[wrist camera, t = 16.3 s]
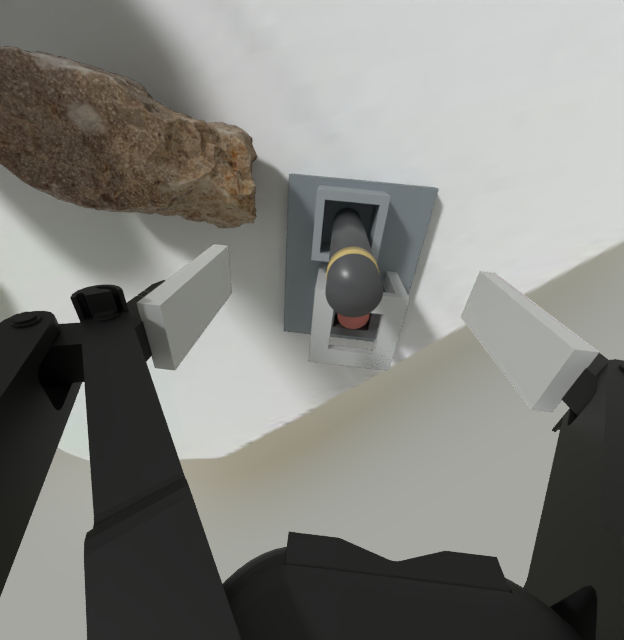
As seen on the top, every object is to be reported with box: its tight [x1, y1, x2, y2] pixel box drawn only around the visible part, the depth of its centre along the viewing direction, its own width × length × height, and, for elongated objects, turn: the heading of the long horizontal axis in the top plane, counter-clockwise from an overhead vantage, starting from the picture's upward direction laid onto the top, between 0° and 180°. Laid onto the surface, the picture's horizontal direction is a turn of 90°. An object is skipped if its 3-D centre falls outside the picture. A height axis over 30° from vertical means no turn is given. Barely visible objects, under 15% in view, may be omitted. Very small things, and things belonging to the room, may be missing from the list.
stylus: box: [325, 208, 383, 317], centre depth 22 cm, size 3×3×18 cm
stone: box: [0, 46, 257, 228], centre depth 23 cm, size 22×10×15 cm, turn 77°
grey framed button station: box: [284, 174, 438, 371], centre depth 30 cm, size 19×15×8 cm
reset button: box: [338, 314, 369, 329], centre depth 33 cm, size 4×4×3 cm
